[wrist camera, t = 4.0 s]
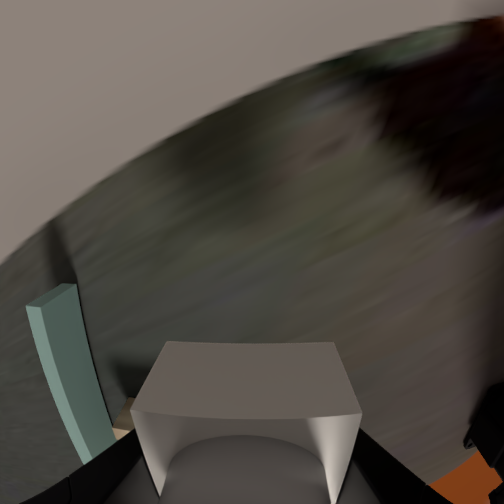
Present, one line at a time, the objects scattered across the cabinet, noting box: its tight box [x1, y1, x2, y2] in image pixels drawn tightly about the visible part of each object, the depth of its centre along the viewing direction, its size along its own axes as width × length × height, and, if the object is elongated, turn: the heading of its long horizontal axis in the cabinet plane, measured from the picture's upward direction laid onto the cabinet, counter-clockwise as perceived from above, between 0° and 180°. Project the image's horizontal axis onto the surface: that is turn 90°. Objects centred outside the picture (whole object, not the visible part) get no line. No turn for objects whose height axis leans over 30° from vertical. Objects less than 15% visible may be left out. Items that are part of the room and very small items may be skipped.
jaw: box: [130, 341, 362, 504], centre depth 6 cm, size 4×4×5 cm
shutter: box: [26, 283, 117, 465], centre depth 15 cm, size 1×14×4 cm, turn 0°
